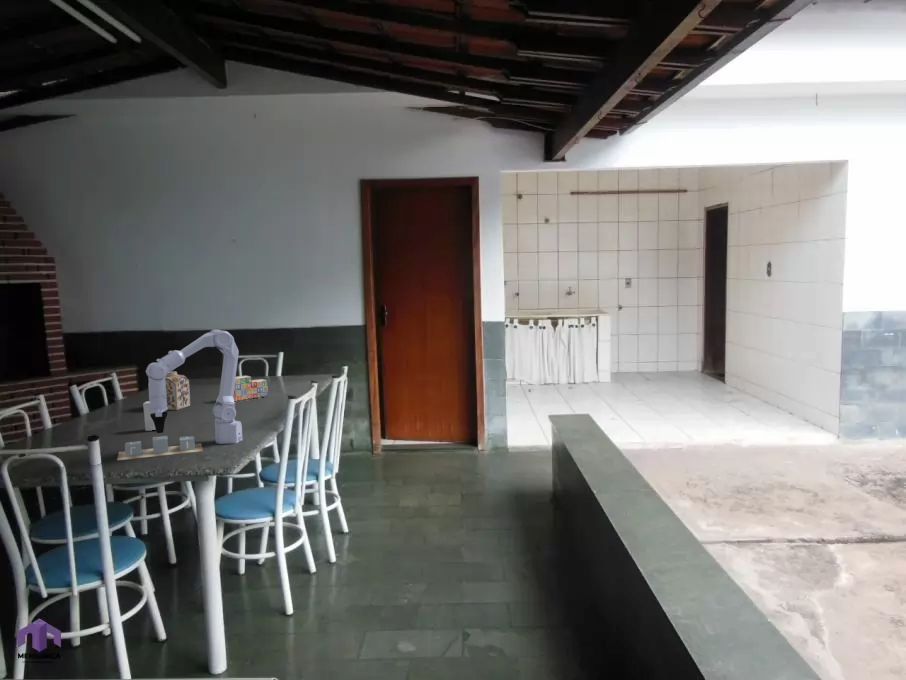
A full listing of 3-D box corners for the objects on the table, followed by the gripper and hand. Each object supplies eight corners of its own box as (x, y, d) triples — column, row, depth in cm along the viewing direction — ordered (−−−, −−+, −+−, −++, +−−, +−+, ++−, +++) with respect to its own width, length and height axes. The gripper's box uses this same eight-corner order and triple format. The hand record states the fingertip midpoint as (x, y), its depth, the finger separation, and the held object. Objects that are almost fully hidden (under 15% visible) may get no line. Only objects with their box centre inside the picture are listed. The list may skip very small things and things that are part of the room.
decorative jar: (177, 410, 317) (175, 373, 315) (155, 410, 319) (153, 373, 317) (191, 405, 328) (189, 370, 326) (170, 405, 330) (168, 369, 329)
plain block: (168, 448, 242) (167, 435, 242) (168, 452, 238) (167, 438, 237) (153, 450, 240) (152, 437, 240) (153, 453, 236) (152, 440, 235)
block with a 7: (141, 451, 239) (140, 440, 238) (141, 455, 234) (140, 444, 234) (126, 453, 237) (125, 442, 236) (125, 457, 232) (124, 445, 232)
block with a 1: (194, 446, 246) (193, 435, 245) (195, 449, 241) (194, 438, 241) (180, 447, 244) (179, 437, 243) (180, 451, 239) (179, 440, 239)
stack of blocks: (262, 395, 354) (261, 373, 353) (268, 397, 349) (267, 374, 348) (224, 401, 339) (223, 378, 338) (230, 403, 335) (228, 379, 333)
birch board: (201, 445, 250) (201, 443, 250) (202, 453, 239) (202, 450, 239) (119, 454, 239) (119, 451, 239) (117, 463, 228) (116, 460, 228)
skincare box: (163, 428, 280) (161, 400, 278) (159, 430, 275) (158, 402, 274) (148, 428, 279) (146, 400, 278) (144, 431, 274) (142, 403, 273)
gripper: (146, 393, 242) (148, 429, 243) (145, 400, 229) (147, 438, 230) (166, 391, 245) (168, 427, 246) (167, 398, 231) (169, 436, 233)
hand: (160, 432), depth 238 cm, fingers closed
